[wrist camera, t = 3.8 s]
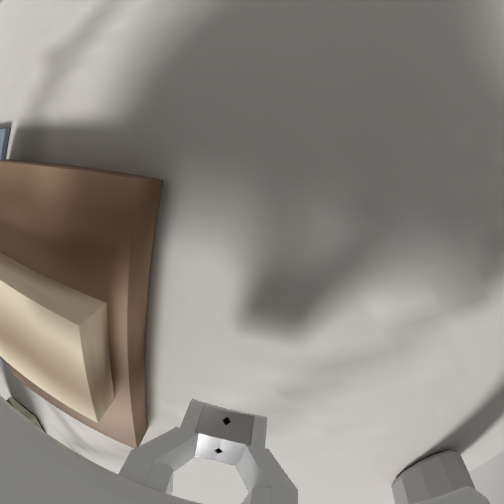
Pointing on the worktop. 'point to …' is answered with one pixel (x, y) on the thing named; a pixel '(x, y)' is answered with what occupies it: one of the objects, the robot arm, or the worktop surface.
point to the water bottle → (431, 478)
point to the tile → (56, 338)
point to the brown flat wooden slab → (90, 263)
